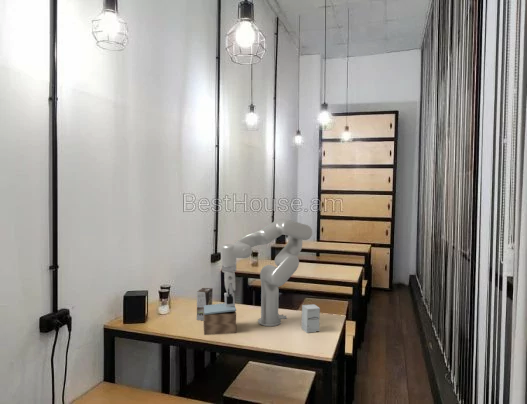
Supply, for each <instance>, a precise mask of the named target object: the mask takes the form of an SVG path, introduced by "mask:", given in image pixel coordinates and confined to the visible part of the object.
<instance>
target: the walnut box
mask: <svg viewBox="0 0 527 404" xmlns="http://www.w3.org/2000/svg"><path fill="white" fill-rule="evenodd" d="M236 311H237V310H236ZM236 311H231V312H223V313H215V314H207V315H204V321H203V334H204V336H206V335H208V336H209V335H222V334H226V335H227V334H236V333H237V312H236Z"/></svg>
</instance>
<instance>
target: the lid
mask: <svg viewBox="0 0 527 404" xmlns="http://www.w3.org/2000/svg"><path fill="white" fill-rule="evenodd" d="M223 295H224V303H223V302H222V303H215V304H213V303H212V305H205V306H204V315H207V314H215V313H223V312H231V311H237V308H236V301H235V291H233V304H227V292H224V294H223Z"/></svg>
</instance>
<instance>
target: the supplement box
mask: <svg viewBox="0 0 527 404" xmlns="http://www.w3.org/2000/svg"><path fill="white" fill-rule="evenodd" d="M320 313H321V308H320V307H319V306H318V305H316V304H315V303H314V304H313V303H312V304H301V330H302V331H304V332H305V333H306V334H309V333H317V332H316V331H319V332H320V324H321V323H320V320H321V319H320V317H321V314H320Z"/></svg>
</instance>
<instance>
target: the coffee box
mask: <svg viewBox="0 0 527 404" xmlns="http://www.w3.org/2000/svg"><path fill="white" fill-rule="evenodd" d="M205 305H213V288H212V287H202V288H201V289H198V291H196V320H197V321H203V322H204V306H205Z"/></svg>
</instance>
